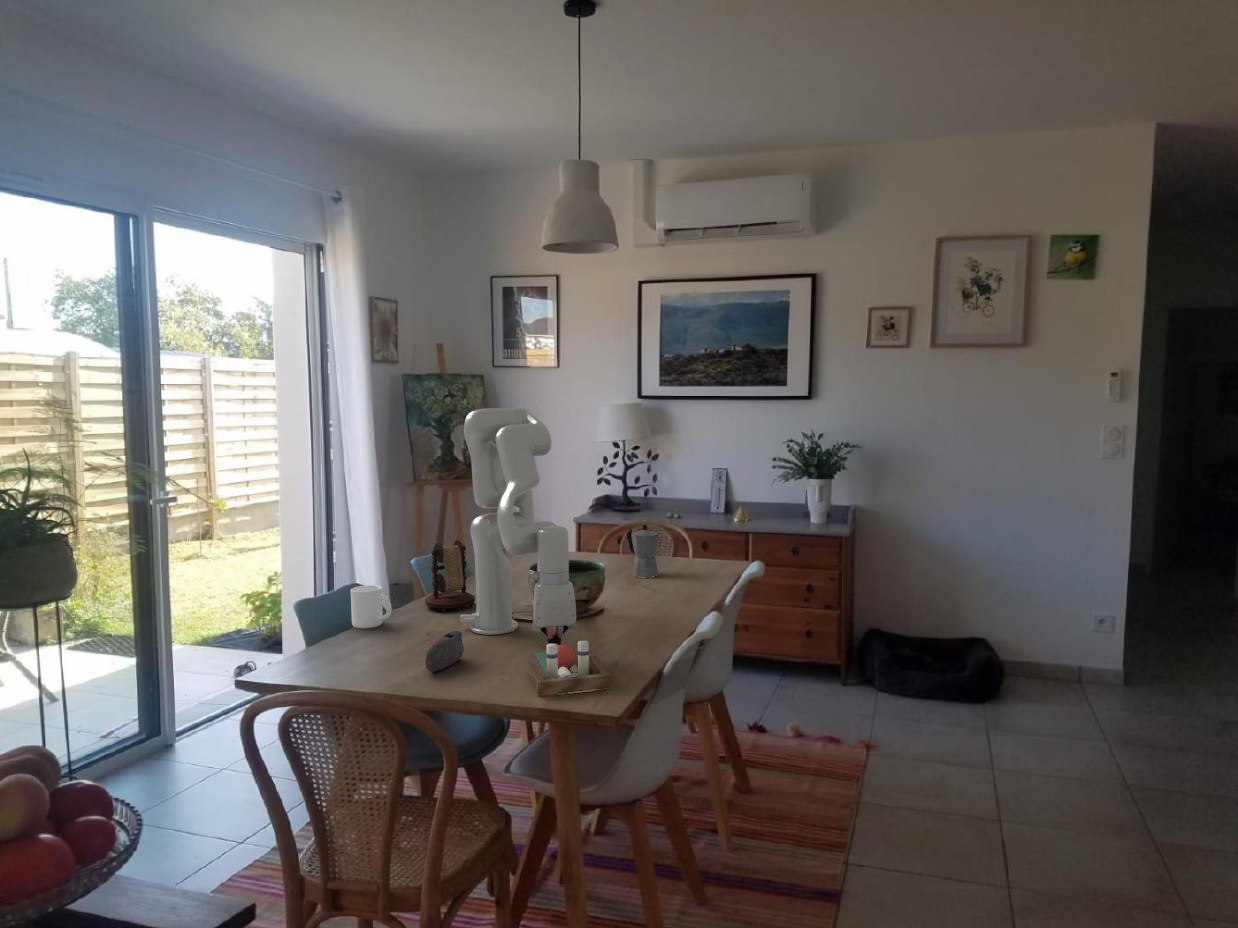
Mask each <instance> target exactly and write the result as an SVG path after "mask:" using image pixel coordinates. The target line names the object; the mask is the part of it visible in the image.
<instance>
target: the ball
mask: <svg viewBox="0 0 1238 928" xmlns="http://www.w3.org/2000/svg"><path fill="white" fill-rule="evenodd" d="M576 659H577V658H576V653H575V650H574V649H573V647H572V646H570V645H569V644H565V643H564V644H562V643H561V645H558V670H559V668H561V667H566V668H567V669H568V670H569V669H570V668H571V667H572V666H573V665H574V663H576Z"/></svg>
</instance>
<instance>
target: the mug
mask: <svg viewBox="0 0 1238 928" xmlns="http://www.w3.org/2000/svg"><path fill="white" fill-rule="evenodd" d="M383 603H384V604H385V607H386V612H385V613H383V611H384V610H383ZM350 606H351V610H350V613H351V624H352V626H353V627H354V628H356V629H371V628H377V627H379V626H381V625H382V624H383V621H385V620H387V619H389V617H390V616H391V614H392V603H391V601H390V599H389V597H387V596H386V595H385V594H383V589H382V586H381V585H377V584H375V585H373V584H371V585H370V584H367V585H359V586H354V587H352V588H351V589H350Z"/></svg>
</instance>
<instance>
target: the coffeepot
mask: <svg viewBox="0 0 1238 928" xmlns="http://www.w3.org/2000/svg"><path fill="white" fill-rule="evenodd" d="M660 537H661V536H660V534H659V532H656V531H652V530H650V529H649V530H648V525H647V524H643V525H642V530H638V529H637V530H635V529H629V530H628V531H627V533H626V538H627V542H628V546H629V550H630V553H633V554H635V557H634V560H633V567H632V571H631V572H632V573H631V575H632V574H633V575H635V576H637V577H652V576H656V575H657V574H659V569H658V565H657V558H656V554H655V553H657V546H658V540H659V538H660ZM633 575H632V576H633Z"/></svg>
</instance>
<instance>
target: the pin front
mask: <svg viewBox="0 0 1238 928" xmlns="http://www.w3.org/2000/svg"><path fill="white" fill-rule="evenodd" d="M558 675H559V676H560V678H565V677H573V676H572V674H571V673H570V672H569V670H568V669H567V668H566V667H561V668H559V670H558Z"/></svg>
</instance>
